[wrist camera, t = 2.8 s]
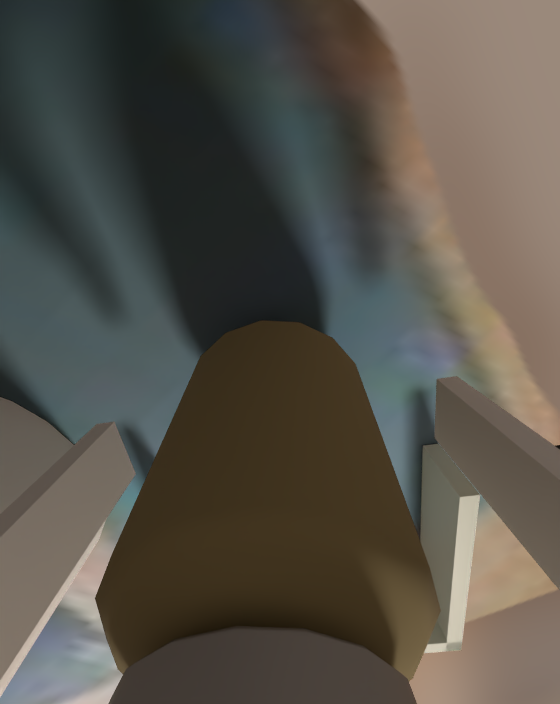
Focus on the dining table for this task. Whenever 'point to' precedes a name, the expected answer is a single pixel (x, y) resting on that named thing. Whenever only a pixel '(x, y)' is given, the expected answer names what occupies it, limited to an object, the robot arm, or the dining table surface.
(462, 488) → the cream u-shaped frame
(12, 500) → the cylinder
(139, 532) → the squeeze bottle
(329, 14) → the dining table surface
